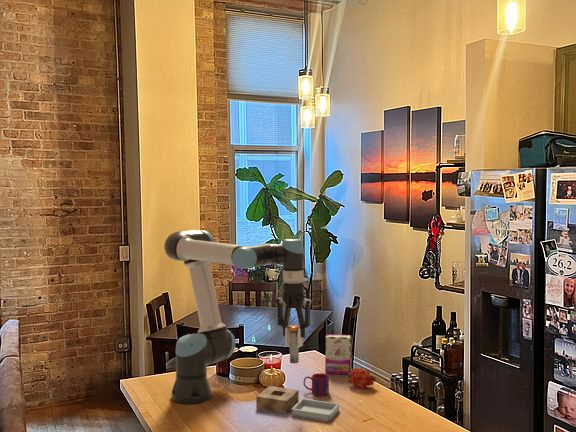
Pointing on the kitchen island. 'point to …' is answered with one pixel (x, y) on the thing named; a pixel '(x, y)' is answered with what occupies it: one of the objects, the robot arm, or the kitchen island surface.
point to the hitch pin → (294, 344)
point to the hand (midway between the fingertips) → (294, 345)
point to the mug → (319, 384)
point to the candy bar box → (338, 354)
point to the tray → (315, 410)
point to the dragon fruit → (360, 378)
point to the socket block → (277, 399)
